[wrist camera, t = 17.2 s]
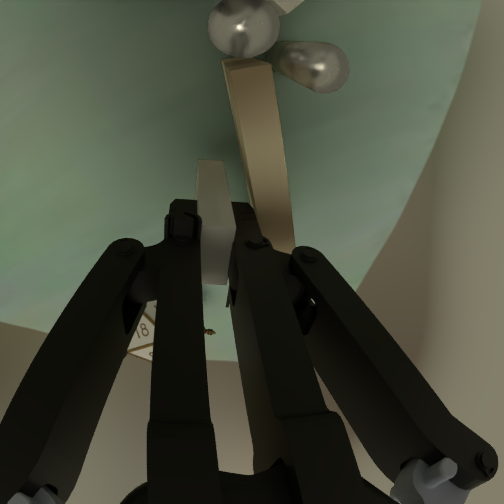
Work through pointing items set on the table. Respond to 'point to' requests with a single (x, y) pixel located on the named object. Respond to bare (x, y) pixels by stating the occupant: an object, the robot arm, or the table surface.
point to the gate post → (243, 27)
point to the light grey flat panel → (284, 5)
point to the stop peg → (310, 64)
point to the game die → (147, 334)
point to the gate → (261, 147)
